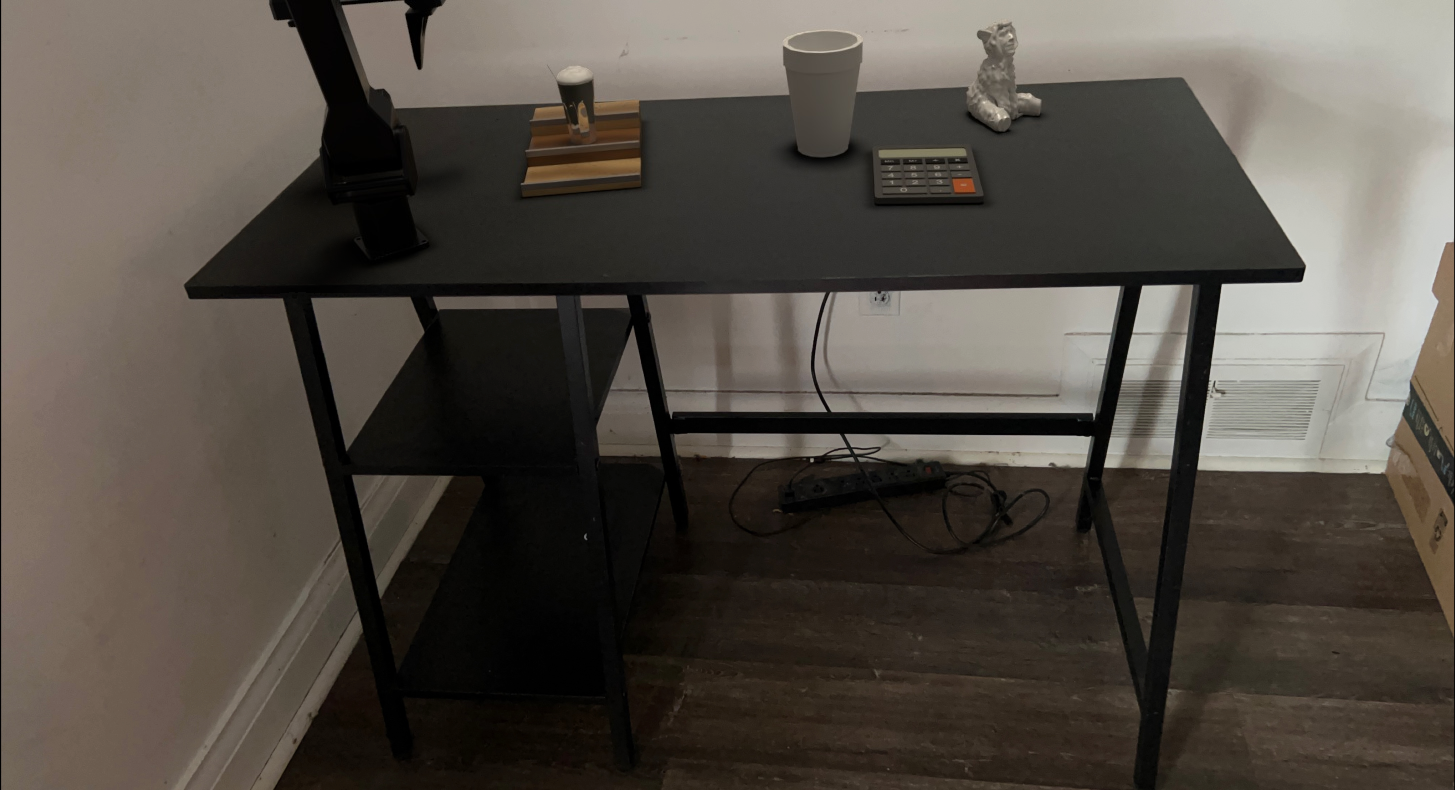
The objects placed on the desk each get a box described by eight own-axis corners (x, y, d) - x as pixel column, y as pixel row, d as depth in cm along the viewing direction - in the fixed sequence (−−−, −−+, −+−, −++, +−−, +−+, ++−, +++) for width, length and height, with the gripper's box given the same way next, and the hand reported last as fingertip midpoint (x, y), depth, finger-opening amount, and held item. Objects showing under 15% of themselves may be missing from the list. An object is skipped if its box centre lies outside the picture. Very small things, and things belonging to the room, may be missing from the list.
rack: (641, 187, 113) (637, 154, 110) (522, 197, 113) (516, 165, 110) (641, 122, 131) (638, 93, 128) (539, 131, 130) (534, 102, 128)
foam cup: (874, 152, 117) (877, 44, 109) (805, 167, 114) (804, 58, 107) (838, 128, 124) (839, 25, 117) (773, 142, 122) (770, 38, 114)
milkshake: (557, 139, 122) (543, 59, 116) (598, 132, 123) (587, 53, 117) (563, 151, 118) (549, 70, 112) (605, 144, 119) (594, 63, 114)
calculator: (875, 196, 104) (872, 144, 116) (874, 204, 105) (872, 151, 117) (984, 194, 103) (970, 142, 115) (983, 202, 103) (969, 149, 115)
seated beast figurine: (1001, 135, 119) (1012, 36, 112) (945, 119, 124) (952, 24, 117) (1044, 114, 124) (1057, 18, 117) (989, 100, 129) (998, 7, 122)
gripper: (441, -92, 110) (470, 46, 119) (278, -79, 110) (320, 58, 119) (422, -74, 101) (456, 73, 110) (245, -60, 101) (294, 87, 110)
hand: (381, 72), depth 112 cm, fingers open, 9 cm apart
